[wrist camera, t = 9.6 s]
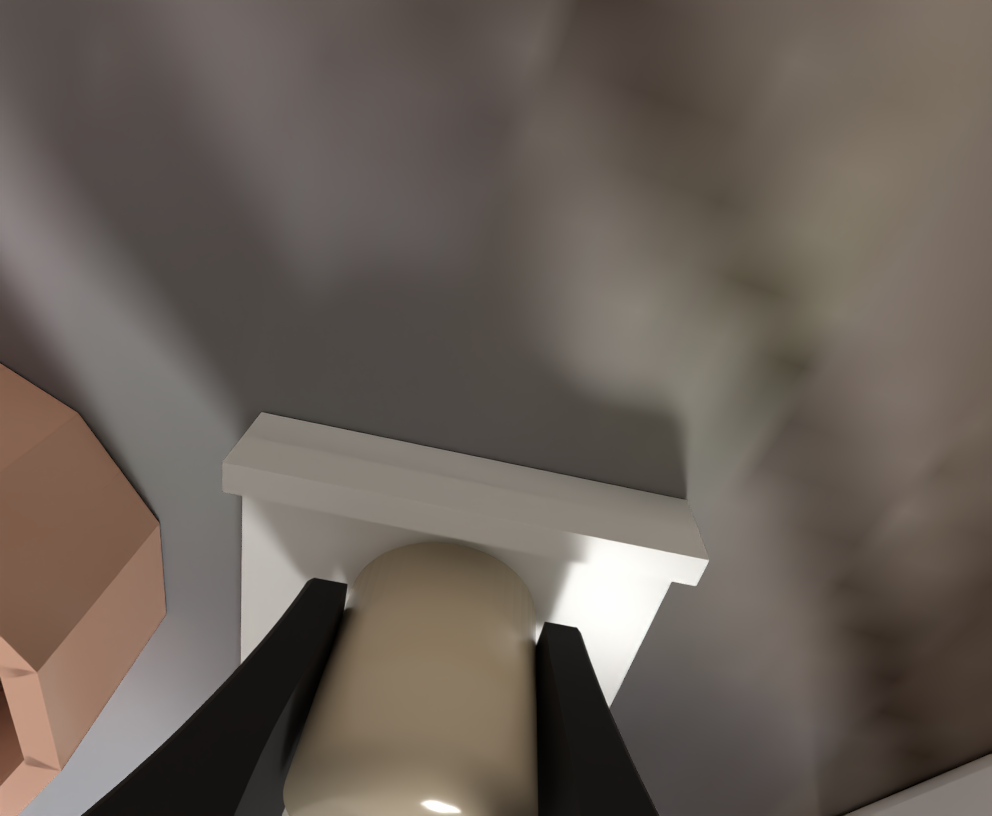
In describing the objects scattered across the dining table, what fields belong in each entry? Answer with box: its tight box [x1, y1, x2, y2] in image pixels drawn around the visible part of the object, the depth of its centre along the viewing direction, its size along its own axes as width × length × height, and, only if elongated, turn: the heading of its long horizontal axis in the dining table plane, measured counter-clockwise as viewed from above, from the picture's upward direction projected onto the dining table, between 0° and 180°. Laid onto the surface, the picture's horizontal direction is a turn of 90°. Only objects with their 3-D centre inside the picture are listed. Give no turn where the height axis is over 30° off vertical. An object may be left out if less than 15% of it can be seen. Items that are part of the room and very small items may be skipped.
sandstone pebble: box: [283, 542, 538, 816], centre depth 10 cm, size 4×4×4 cm
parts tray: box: [222, 412, 709, 816], centre depth 13 cm, size 12×8×2 cm, turn 169°
